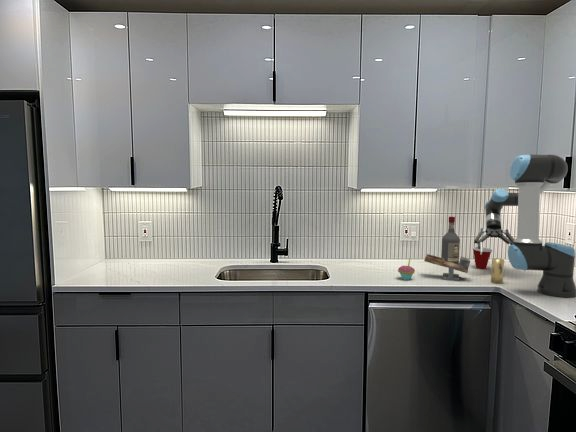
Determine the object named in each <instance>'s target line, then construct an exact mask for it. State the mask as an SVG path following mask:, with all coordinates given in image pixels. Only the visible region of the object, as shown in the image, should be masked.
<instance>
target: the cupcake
mask: <svg viewBox="0 0 576 432" xmlns="http://www.w3.org/2000/svg"><path fill="white" fill-rule="evenodd" d="M410 263H411V258H408V263H407V265H401V266H400V267H398V270H397V272H398V273H399V274H400V277H401V279H402V280H404V281H410V280H412V277H413V275H414V274H415V272H416V271H415V268H413V267H412V266H410Z"/></svg>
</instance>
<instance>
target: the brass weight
mask: <svg viewBox="0 0 576 432" xmlns="http://www.w3.org/2000/svg"><path fill="white" fill-rule="evenodd" d="M504 267H505V259H503V258H495V257H494V258H491V268H490V269H491V272H490V273H491V274H490V283H493V284H498V285H502V284H503V283H504V272H505V271H504V270H505V268H504Z"/></svg>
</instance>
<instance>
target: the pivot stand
mask: <svg viewBox="0 0 576 432" xmlns="http://www.w3.org/2000/svg"><path fill="white" fill-rule="evenodd" d="M451 263H453V262H451ZM442 280H443V281H445V280H446V281H452V280H454V281H455V282H460V274H459V273H455V270H454V266H449V268H448V272H443V273H442ZM454 281H453V282H454Z"/></svg>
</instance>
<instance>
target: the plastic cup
mask: <svg viewBox="0 0 576 432" xmlns="http://www.w3.org/2000/svg"><path fill="white" fill-rule="evenodd" d="M472 250H473V260H474V264H475V269H480V270H485V269H487V268H488V264H489V259H490V257H491V253H492V252H493V250H492V249H490V248H488V247H483V246H482V255H480V249H478V246H473V247H472Z"/></svg>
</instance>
